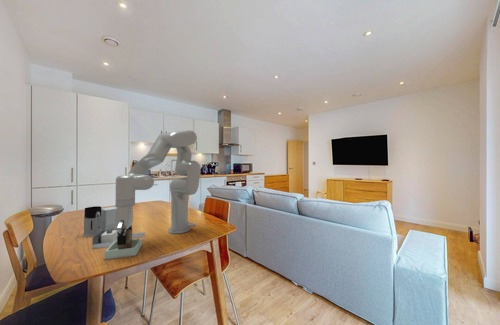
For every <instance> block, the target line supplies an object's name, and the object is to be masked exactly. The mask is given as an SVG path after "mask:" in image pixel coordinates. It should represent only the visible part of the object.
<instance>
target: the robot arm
mask: <svg viewBox="0 0 500 325" xmlns="http://www.w3.org/2000/svg"><path fill="white" fill-rule="evenodd" d="M197 140H198V137H197V134H196V133H195V131H193V130H179V131H178V130H177V131H173V132H163V133H160V134H159V135H158V136H157V138H156V139H155V141H154V142H153V144H152V146H151V147H150V149H149V151H148V152H147V154H145V155H144V156H143V157H141V159H140V160H139V159H138V161H136V163H135V164H133V166H131V169H130V170H129V172H128V173H127V174H125V175H124V174H123V175H118V176H117V177H116V178H115V204H114V207H116V208H117V210H116V218H115V229H114V231H116V230H117V245H125V244H126V235H125V233H126V229H132V230H133V224H134V206H135V205H136V191H146V190H150V189H152V187H154V184H155V180H154V178H153V177H152V176H151V175H149V174H146V173H147V172H148V171H149V170H151V169H152V168H154V167H156V166H158V165H161V164H162V163H164V161H165V160H166V157H167V156H168V154H169V153H170V150H171V149H175V150H176V153H177V154H176V161H175V167H174V172H175V174H176V175H177V176H180V177H177V178H176V177H175V178H173V179H172V180H171V182H170V183H169V191H170V198H171V199H170V200H171V201H170V202H171V208H170V209H171V212H170V213H171V216H170V219H171V220H170V227H169V228H168V230H167V231H168V233H169V234H175V235H177V234H185V233H187V232H189V231H190V230H191V227H192V228H194V227H196V223H194V222H189V199H188V196H193V195H195V194H196V193H197V192H198V189H199V187H200V186H199V185H200V178H201V173H202V172H201V168H202V167H201V165H200V163H199V162H198V161H196V160H192V150H191V148H190V146H193V145H194V144H195V143H196V142H197ZM186 177H187V178H186ZM123 230H124V232H123Z"/></svg>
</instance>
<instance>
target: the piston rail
mask: <svg viewBox="0 0 500 325" xmlns="http://www.w3.org/2000/svg"><path fill="white" fill-rule="evenodd" d="M106 231H107V230H102V231H101V232H100V233H99V234H97V235H96V236H92V237H91V238H92V242H91V246H92V247H91V248H92V249H102V248H109V246H110V245H111V244H112V243H113V242H105V243H101V235H102V234H103V233H105V232H106ZM145 236H146V232H134V233H133V232H132V239H134V238H143V237H145Z"/></svg>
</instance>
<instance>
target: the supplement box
mask: <svg viewBox="0 0 500 325" xmlns="http://www.w3.org/2000/svg"><path fill="white" fill-rule="evenodd" d="M116 210H117V207H115V206H110V207H105V208H104V207H103V208H101V214H102V229H101V230H107V229H112V231H115V218H116Z"/></svg>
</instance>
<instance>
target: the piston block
mask: <svg viewBox="0 0 500 325" xmlns="http://www.w3.org/2000/svg"><path fill="white" fill-rule="evenodd" d="M117 232H118V230H112V229H107V231H106V232H105V233H103V234H102V235H101V243H105V242H114V241H117Z"/></svg>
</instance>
